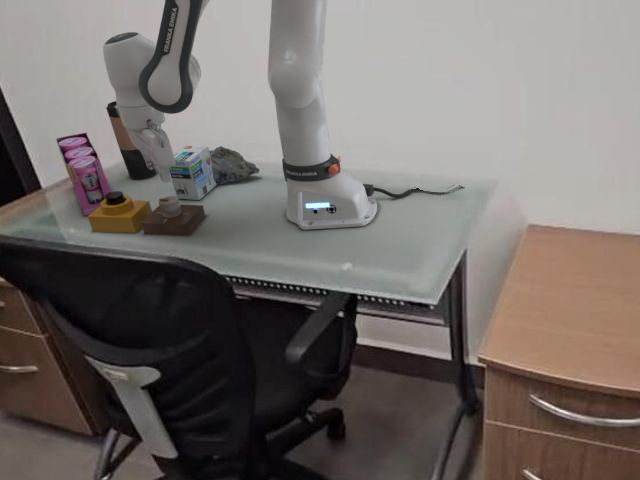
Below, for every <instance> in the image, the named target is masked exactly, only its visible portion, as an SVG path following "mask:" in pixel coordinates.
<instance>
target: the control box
mask: <svg viewBox="0 0 640 480" xmlns="http://www.w3.org/2000/svg"><path fill="white" fill-rule="evenodd" d="M123 195H124V198H125V202H123V203H121V204H118V205H108V204H107V201H106V199H104V200H103V201H102V202H101V206H99V207H98V208H97V209H96V210H95V211H93V212H92V213H91V214H90V215H86V216H87V219H88V222H89V225H90V227H91V230H92V232H103V233H104V232H105V233H129V234H130V233H132V234H136V233H138V231H139V230H141V228H142V225H141V222H143V221H144V220H145V219H146V218H147V217H148V216H149V215H150V214H151V213H152V212H153V209H152V207H151V204H150V200H133V198H132V196H130V195H128V194H123Z"/></svg>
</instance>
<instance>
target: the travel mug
mask: <svg viewBox="0 0 640 480" xmlns="http://www.w3.org/2000/svg"><path fill="white" fill-rule="evenodd" d="M105 109H106V110H107V114H108V118H109V120H110V124H111V127H112V130H113V134H114V136H115V140H116V143H117V146H118V148H119V151H120V154H121V157H122V159H123V163H124V166H125V167H126V170H127V173H128V176H129V178H130V179H132V180H137V181H139V180H147V179H149V178H152V177H154V176H155V175H156V174H157V170H156V169H153V170H150V169H149V168H147V165H146V162H145V160H144V158H143V156H142V154H141V151H139V150H138V149H137V148H136V147H135V146H134V145H133V144H132V142H131V140H130V138H129V136H128V133H127V131H126V128H125V127H124V126H123V124H122V120H121V118H120V117H119V115H118V112H117V103H116V100H114V101H112V102H109V103H108V104H107V106H106V107H105Z"/></svg>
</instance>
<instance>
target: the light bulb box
mask: <svg viewBox="0 0 640 480" xmlns="http://www.w3.org/2000/svg"><path fill="white" fill-rule="evenodd" d="M209 151H210V149H209V146H205V145H204V146H202V145H189V144H188V145H187V144H186V145H184V146H183V147H182V148H180V149H179V150H178V151H176V152H175V153H173V154H174V158H175V166H173V167H170V178H171V182H172V185H173V189H174V192H175V195H176V196H175V197H177V198H178V200H192V201H193V200H194V201H200V200H202V198H203V197H205V196H206V195H207V194H208V193H209V192H210V191H211V190H212V189H214V187H216V186H217V185H218V184H216V182H215V181H214V179H213V172H212V161H211V157H210V152H209Z"/></svg>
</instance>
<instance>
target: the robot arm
mask: <svg viewBox="0 0 640 480" xmlns="http://www.w3.org/2000/svg"><path fill="white" fill-rule="evenodd" d="M210 1H211V0H164V6H163V11H162V15H161V21H160V25H159V30H158V34H157V35H158V36H157V40H156V42H155V41H153V40H151V39H149V38H147V37H145V36H144V35H142V34H141V33H139V32H135V31H129V32H123V33H119V34H116V35H114V36H112V37H111V38H108V40H106V42H105V43H104V44H103V47H102V50H103V51H102V53H103V59H104V64H105V68H106V73H107V76H108V80H109V83H110V85H111V86H112V89H113V90H114V93H115V101H116V103H117V112H118V115H119V117H120V118H121V120H122V124H123V126H124V127H125V128H126V131H127V133H128V136H129V138H130V140H131V142H132V144H133V145H134V146H135V147H136V148H137V149H138V150H139V151H141V154H142V156H143V158H144V160H145V162H146V165H147V168H149V169H150V170H153V169H155V170H156V169H157V168H158V170H159V178H160V180H161V182H162V183H164V184H167V183H170V182H172V178H171V175H170V167H173V166H175V158H174V154H175V153H174V151H173V148H172V144H171V141H170V139H169V137H168V134H167V132H166V131H165V130H163V127H162V125H163V124H164V123H165V122H166V115H165V114H168V115H171V114H172V115H173V114H180V113H182V112H184V111H186V110H187V108H189V106H190V105H191V103H192V100H193V96H194V94H195V92H196V89H197V87H198V85H199V84H200V81H201V76H202V75H201V74H202V73H201V72H202V71H201V66H200V64H199V62H198V60H197V59H196V57H195V56H194V55H193V54H192V53H193V48H194V44H195V39H196V35H197V30H198V26H199V22H200V21H201V17H202V15H203V13H204V12H205V9H206V7H207V6H208V4H209V3H210ZM270 5H271V7H270V22H269V23H270V24H269V42H268V60H267V83H268V86H269V89H270V91H271V93H272V94H273V96H274V103H275V110H276V111H275V112H276V121H277V128H278V129H277V130H278V134H279V141H280V146H281V147H280V148H281V152H282V157H283V158H282V159H281V163H282V172H283V176H284V181H285V182H286V195H287V196H286V197H287V199H286V200H287V201H286V210H285V211H286V212H285V217H286V219H287V220H288V221H290V222H292V223H294V224H296V225H297V226H298V227H299V228H300V229H301V230H305V231H306V230H307V231H308V230H322V229H324V230H325V229H339V228H340V229H341V228H356V227H364V226H366V225H368V224H369V223H371V222H372V221H373V220H374V218H375V216H376V215H377V212H378V203H377V201H376V199H375V198H373V197H372V196H373V195H374V194H375V192H378V193H382V194H384V195H386V196H387V197H388V196H389V197H391V198H395V199H399V198H400V199H401V198H405V197H406V196H408V195H409V194H411V193H413V192H424V191H423V190H420V189H419V188H416V187H415V188H416V189H411V188H409V189H407V190H406V191H404V192H402V193H399V194H398V193H392V192H390V191H389V190H386V189H384V188H380V187H374V184H371V183H370V184H368V183H363V182H362V181H360V180H358V179H357V178H355V177H354V176H352V175H351V174H349V173H348V172H345V171H344V170H343V169H341V160H342V159H341V155H339V156H338V157H336V156H334V155H333V154H332V153H331V145H330V137H329V129H328V121H327V112H326V105H325V104H326V103H325V95H324V88H323V68H324V67H323V65H324V54H325V52H324V51H325V37H326V36H325V35H326V21H327V20H326V19H327V9H328V8H327V7H328V0H271V4H270ZM410 189H411V190H410Z"/></svg>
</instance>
